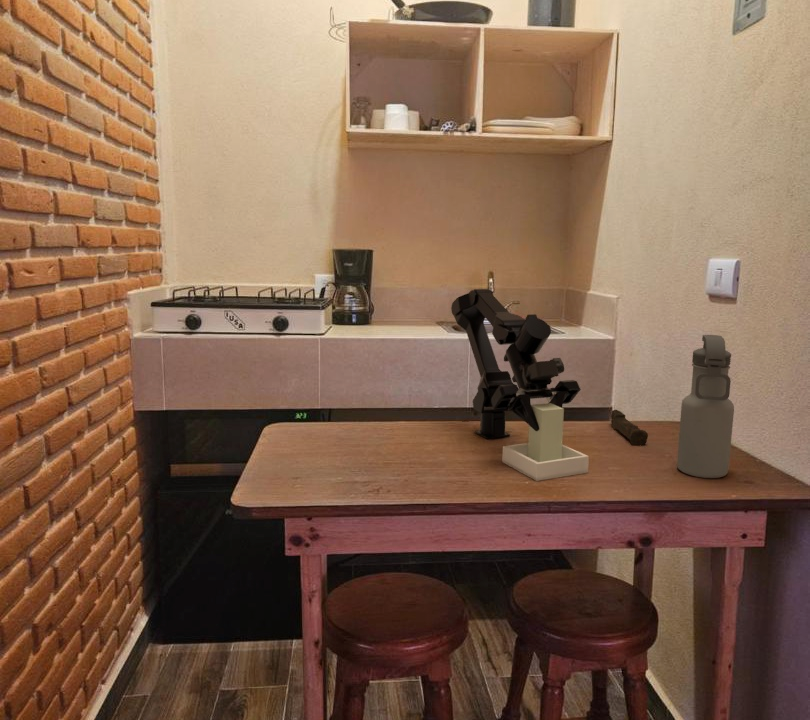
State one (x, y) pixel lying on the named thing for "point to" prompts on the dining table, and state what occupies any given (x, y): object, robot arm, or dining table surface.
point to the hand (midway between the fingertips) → (549, 429)
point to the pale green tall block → (546, 433)
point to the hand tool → (628, 428)
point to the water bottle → (707, 413)
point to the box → (545, 463)
